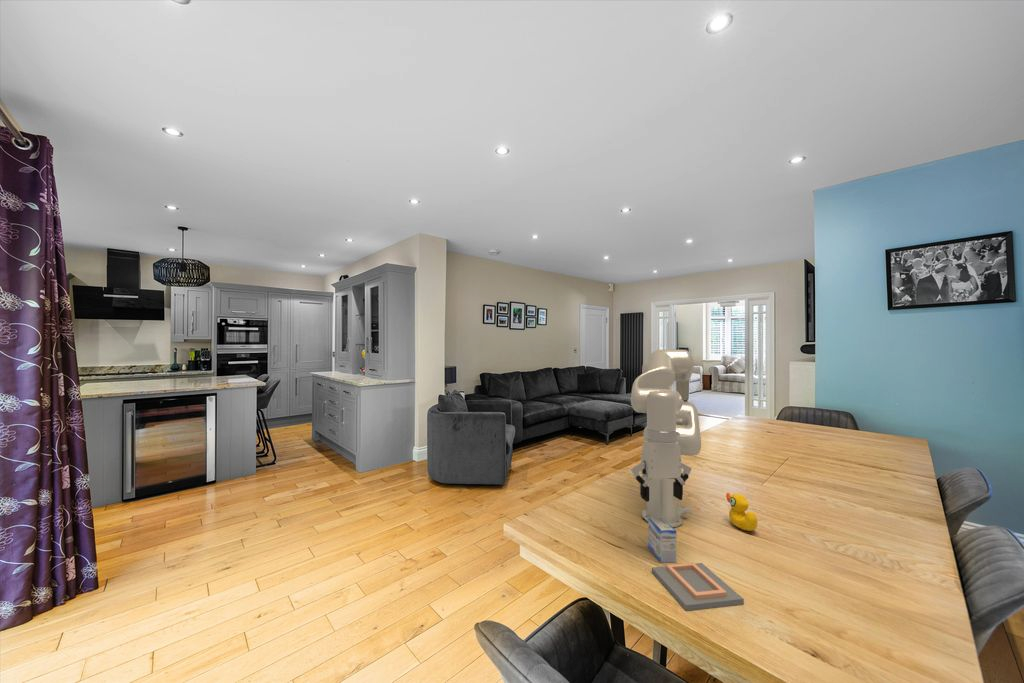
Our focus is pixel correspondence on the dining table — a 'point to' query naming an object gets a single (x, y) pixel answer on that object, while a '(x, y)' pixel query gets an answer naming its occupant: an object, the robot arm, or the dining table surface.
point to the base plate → (696, 586)
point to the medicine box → (662, 540)
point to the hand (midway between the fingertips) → (661, 499)
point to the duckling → (741, 512)
